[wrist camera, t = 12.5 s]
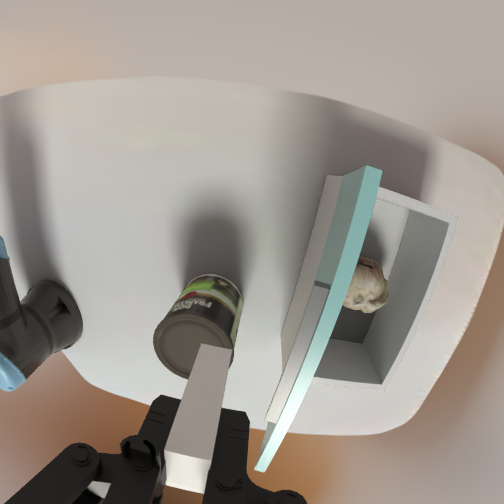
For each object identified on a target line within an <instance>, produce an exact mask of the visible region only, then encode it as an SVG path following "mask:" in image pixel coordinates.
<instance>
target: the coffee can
mask: <svg viewBox="0 0 504 504" xmlns="http://www.w3.org/2000/svg"><path fill="white" fill-rule="evenodd" d="M242 310H243V299H242V295H241V293H240V291H239V289H238V288H237V287H236V285H235V284H234V283H232V282H231V281H230V280H229V279H227V278H225V277H223V276H220V275H216V274H203V275H200V276H197V277H195V278H194V279H192V280H191V281H190V282H189V283H188V284H187V285H186V287H185V289H184V291H183V292H182V293H181V295H180V296H179V298H178V299H177V301H176V302H175V304H174V305H173V306H172V308H171V309H170V311H169V312H168V314H167V315H166V317H165V318H164V319H163V320H162V321H161V322H160V324H159V325H158V326H157V328H156V330H155V332H154V337H153V345H154V349H155V352H156V354H157V357H158V358H159V360H160V361H161V362H162V364H163V365H164V366H165V367H166V368H167V369H169V370H170V371H171V372H173V373H174V374H176V375H178V376H180V377H182V378H185V379H188V380H189V377H190V374H191V371H192V368H193V365H194V363H195V360H196V357H197V354H198V351H199V349H200V346H201V343H202V344H206V345H211V346H216V347H221V348H226V349H231V350H232V353H231V358H230V364H229V368H230V366H231V364H232V362H233V357H234V347H235V342H236V337H237V332H238V327H239V322H240V317H241V314H242Z"/></svg>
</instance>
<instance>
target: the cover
mask: <svg viewBox="0 0 504 504" xmlns="http://www.w3.org/2000/svg"><path fill="white" fill-rule="evenodd" d="M382 172H383V170H380V169H377V168H374V167H371V166H368V165H365V166H363V167H361V168H359V169H356V170H354V171H352V172H350V173H348V174H345V175H344V176H343V180H342V184H341V188H340V192H339V196H338V199H337V203H336V207H335V211H334V215H333V218H332V222H331V225H330V229H329V233H328V236H327V240H326V243H325V246H324V250H323V253H322V257H321V260H320V263H319V267H318V270H317V273H316V276H315V280H314V283H313V286H312V289H311V292H310V295H309V298H308V301H307V304H306V307H305V310H304V313H303V316H302V319H301V322H300V325H299V328H298V331H297V334H296V337H295V340H294V342H293V345H292V348H291V351H290V353H289V356H288V359H287V362H286V364H285V367H284V370H283V372H282V375H281V378H280V381H279V383H278V386H277V388H276V391H275V393H274V396H273V398H272V401H271V403H270V406H269V408H268V411H267V414H266V417H265V421H269V422H268V425H267V429H266V433H265V436H264V439H263V443H262V446H261V449H260V453H259V456H258V459H257V463H256V466H255V469H254V470H257V471H261V472H265V470H266V469H267V467H268V465H269V463H270V462H271V460H272V458H273V456H274V454H275V453H276V451H277V449H278V447H279V445H280V443H281V442H282V440H283V438H284V436H285V434H286V432H287V430H288V428H289V426H290V424H291V422H292V420H293V418H294V416H295V414H296V412H297V410H298V408H299V406H300V404H301V402H302V400H303V398H304V396H305V394H306V391H307V389H308V387H309V385H310V383H311V381H312V378H313V376H314V374H315V372H316V369H317V367H318V365H319V362H320V360H321V358H322V355H323V353H324V351H325V348H326V346H327V343H328V341H329V338H330V336H331V333H332V331H333V328H334V326H335V323H336V321H337V318H338V315H339V313H340V310H341V307H342V305H343V302H344V299H345V296H346V294H347V291H348V288H349V285H350V282H351V279H352V276H353V273H354V270H355V267H356V264H357V261H358V258H359V255H360V252H361V249H362V246H363V242H364V239H365V236H366V232H367V229H368V225H369V222H370V218H371V215H372V211H373V208H374V204H375V200H376V196H377V192H378V188H379V184H380V180H381V176H382Z"/></svg>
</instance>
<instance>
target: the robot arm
mask: <svg viewBox="0 0 504 504" xmlns="http://www.w3.org/2000/svg"><path fill="white" fill-rule="evenodd" d="M9 260H10V258H9V257H8V255H7V251H6V247H5V243H4V240H3V238H2V237H1V236H0V389H2V390H5V391H13V390H15V389H16V388H17V387H19V386H20V385H21V384H22V383H24V382H25V381H26V379H27V378H28V377H29V376H30V375H31V374H32V373H33V372H34V371H35V370H36V369H37V368H38V367H39V366H40V365H41V364H42V363H43V362H44V361H45V360H46V359H47V358H48V357H49V356H50V355H51V354H53V353H56V352H58V351H61V350H63V349H67V348H70V347H71V346H73V345H74V344H75V343H76V342H77V341H78V340H79V338H80V337H81V334H82V319H81V315H80V312H79V310H78V307H77V305H76V303H75V302H74V300H73V299H72V297H71V296H70V295H69V293H68V292H67V291H66V290H65V289H64V288H63V287H61V286H60V285H59V284H57V283H55V282H53V281H50V280H42V281H40V282H38V283H36V284H35V285H33V286H32V287H31V288H30V289H29V291H28V292H27V295H26V296H25V297H24V298H23V299H22V301H21V302H20V300H19V297H18V293H17V290H16V286H15V283H14V279H13V275H12V271H11V267H10V263H9ZM231 353H232V350H231V349H226V348H221V347H216V346H211V345H206V344H202V343H201V346H200V349H199V351H198V354H197V357H196V360H195V363H194V365H193V368H192V371H191V374H190V377H189V380H188V382H187V385H186V388H185V391H184V394H183V397H182V399H181V400H180V399H176V398H172V397H168V396H165V395H160V396H159V397H158V398H156V399H155V400H154V401H153V402H152V404H151V406H150V409H149V412H148V413H147V415H146V418H145V420H144V422H143V424H142V427H141V429H140V431H139V433H138V435H134V436H129V437H127V438H125V439H124V440H123V441H122V442H121V443H120V446H121V451H122V453H120V454H106V453H97V451H96V450H95V449H94V448H93V447H92V446H90V445H87V444H85V443H75V444H71V445H70V446H68V447H67V448H65V449H64V450H63V451H62V452H61V453H60V454H59V455H58V456H57V457H56V458H55V459H53V460H52V461H51V462H50V463H49V464H48V465H47V466H46V467H45V468H43V469H42V470H41V471H40V472H39V473H38V474H37V475H36V476H35V477H34V478H32V479H31V480H30V481H29V482H28V483H27V484H26V485H25V486H24V487H22V488H21V489H20V490H19V491H18V492H17V493H16V494H15V495H13V496H12V497H11V498H10V499H9V500H8V501H7V502H6V503H4V504H161V503H162V499H163V489H164V486H165V482H166V485H168V486H172V487H176V488H180V489H184V490H189V491H194V492H199V493H203V494H204V496H203V502H202V504H307V502H306V500H305V499H304V497H303V496H302V495H300V494H299V493H297V492H294V491H291V490H281V491H277V492H272V491H269V490H266V489H263V488H261V487H259V486H257V485H255V484H254V483H253V482H252V481H251V480H250V479H249V477H248V475H247V471H246V466H247V453H248V439H249V426H250V421H249V419H248V417H247V414H246V412H243V411H237V410H231V409H225V408H221V407H222V402H223V396H224V391H225V385H226V380H227V374H228V369H229V364H230V358H231Z"/></svg>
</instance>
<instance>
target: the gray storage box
mask: <svg viewBox="0 0 504 504" xmlns="http://www.w3.org/2000/svg"><path fill="white" fill-rule="evenodd" d="M342 180H343V176H334V175H326V179H325V183H324V187H323V191H322V195H321V199H320V203H319V206H318V210H317V214H316V218H315V222H314V225H313V229H312V233H311V236H310V240H309V243H308V247H307V251H306V254H305V258H304V261H303V264H302V268H301V271H300V275H299V278H298V281H297V285H296V288H295V291H294V295H293V298H292V301H291V304H290V308H289V311H288V314H287V317H286V320H285V323H284V327H283V330H282V333H281V349H282V369H283V370H284V367H285V364H286V362H287V359H288V356H289V353H290V351H291V348H292V345H293V342H294V340H295V337H296V334H297V331H298V328H299V325H300V322H301V319H302V316H303V313H304V310H305V307H306V304H307V301H308V298H309V295H310V292H311V289H312V286H313V283H314V280H315V276H316V273H317V270H318V267H319V263H320V260H321V257H322V253H323V250H324V246H325V243H326V240H327V236H328V233H329V229H330V225H331V222H332V218H333V215H334V211H335V207H336V203H337V199H338V196H339V192H340V188H341V184H342ZM376 199H379V200H382V201H385V202H388V203H391V204H394V205H397V206H400V207H403V208H406V209H409V210H410V213H409V217H408V221H407V224H406V228H405V231H404V234H403V238H402V241H401V244H400V247H399V250H398V253H397V256H396V259H395V262H394V265H393V268H392V271H391V274H390V277H389V279H388V293H389V298H388V301H387V302H386V304H385V305H383V306H382V307H381V308H379V309H377V311H376V313H375V316H374V318H373V320H372V323H371V325H370V328H369V330H368V332H367V334H366V337H365V339H364V341H363V343H362V344H361V343H355V342H349V341H343V340H337V339H331V338H329V341H328V343H327V346H326V348H325V351H324V353H323V355H322V358H321V360H320V362H319V365H318V367H317V369H316V372H315V374H314V376H313V378H312V381H311V383H314V384H321V385H328V386H337V387H345V388H355V389H366V390H378V391H385V390H386V388H387V386H388V385H389V383H390V381H391V379H392V378H393V376H394V374H395V372H396V371H397V369H398V367H399V365H400V363H401V361H402V359H403V358H404V356H405V354H406V352H407V350H408V348H409V346H410V344H411V342H412V340H413V338H414V336H415V333H416V331H417V329H418V327H419V325H420V323H421V320H422V318H423V316H424V314H425V311H426V309H427V307H428V304H429V302H430V300H431V297H432V295H433V292H434V290H435V287H436V284H437V282H438V279H439V276H440V274H441V271H442V268H443V265H444V262H445V259H446V256H447V253H448V250H449V247H450V244H451V241H452V237H453V234H454V231H455V227H456V224H457V220H458V217H457V216H455V215H453V214H450V213H448V212H446V211H443V210H441V209H438V208H436V207H433V206H431V205H428V204H426V203H423V202H420V201H418V200H415V199H412V198H410V197H407V196H404V195H402V194H399V193H396V192H393V191H390V190H387V189H385V188H382V187H379V188H378V192H377V196H376Z"/></svg>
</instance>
